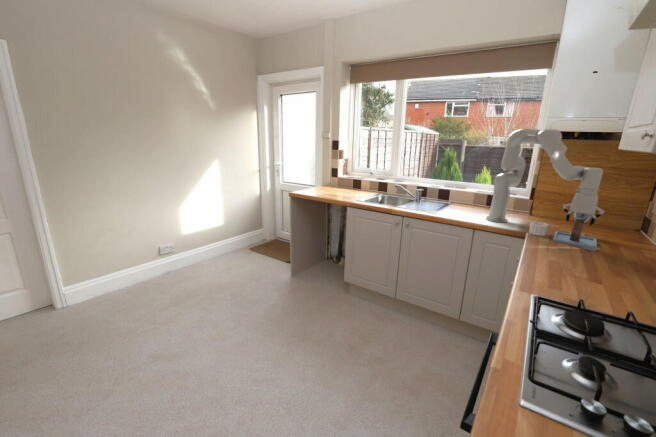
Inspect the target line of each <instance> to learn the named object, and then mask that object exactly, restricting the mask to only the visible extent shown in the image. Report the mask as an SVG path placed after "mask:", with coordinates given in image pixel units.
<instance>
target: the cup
mask: <svg viewBox="0 0 656 437" xmlns="http://www.w3.org/2000/svg"><path fill="white" fill-rule="evenodd" d="M548 227H549V224H548V223H545V222H543V221H531V222H530V224H529V229H528V233H529V234H531V235H535V236H539V237H544V236H546V235H547V230H548Z"/></svg>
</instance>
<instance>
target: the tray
mask: <svg viewBox="0 0 656 437" xmlns="http://www.w3.org/2000/svg"><path fill="white" fill-rule="evenodd" d="M570 236H571V234H570V232H569V233H567V232H562V231H557V230H556V231H555V232H554V235H553V238H552V241H553V242H557V243H562V244H566V245H571V247H572V248H579V249H581V250H587V251H592V252H597V248H598V245H597V238H595V237H589V236H580V239H579V242H576V241H571V240H570Z"/></svg>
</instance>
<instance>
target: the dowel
mask: <svg viewBox="0 0 656 437" xmlns="http://www.w3.org/2000/svg"><path fill="white" fill-rule="evenodd" d="M584 221H585V220H584V219H581V218H574V222H573V226H572V229H571V236H570V240H571V241H576V242H579V239H580V236H581V234H582V232H583V228H584V224H585V223H584Z"/></svg>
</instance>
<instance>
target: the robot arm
mask: <svg viewBox="0 0 656 437" xmlns="http://www.w3.org/2000/svg"><path fill="white" fill-rule="evenodd" d="M562 139H563V134H562V132H561V131H560V130H558V129H553V128H547V129H535V128H532V129H531V128H520V129H516V130H514V131H512V132H511V133H510V134H509V136H508V138H507V140H506V145H505V150H504V152H503V155H502V160H501V163H500V167H501V170H503V172H502V173H501V172H500V173H499V174H497V175H496V176H495V178H494V179H493V193H492V200H491V204H490V210H489V211H488V213H487V214H489V215H487V216H486V217H485V218H486V220H487V221H491V222H494V223H507V222H508V219H507V218H506V217H507V216H506V215H507V213H508V212H507V211H508V207H509V206H508V205H509V201H510V196H511V191H510V188H514V187H517V186H519V185H520V183H521V182H522V178H523V175H524V173H525V172H524V171H525V169H526V160H525V158H524V157H523V156H520V154H521V150H522V146H521V145H522V144H533V145H534V144H536V145H540V146H541V148H542V149H543V150H544V151H545V152H546V154H547V155H548V156H549V158H550V162H551V165H552V168H553V169H554V170H555V172H556V174H558V176H559V177H560V178H562V179H563V180H566V181H577V180H580V184H579V187H578V188H577V187H576V188H575V189H574V191H575V192H576V193H575V194H574V196H573V199H572V201H571V202H570V203H565V204H562V209H563V212H565V214H566V217H565V220H566V222H567V223H568V222H569V221H570V218H571V213H574V212H576V213H582V214H589V215H591V217H590V221H589V226H590V227H592V225H594V224H595V221H596V219H597V218H599V217H601V216H602V215H603V214H604V213H605V210H603V209H602V208H600V207H599V206H598V202H599V195H598V191H599V187H600V184H601V180H602V178H603V174H604V170H603V169H602V168H600V167H591V166H590V167H588V166H585V165H584V166H583V165H573V164H572V163H571V161H569V160H568V158H567V156H566V152H567V151H568V147H567V146H566V145H565V143H563V141H562ZM504 171H505V172H504ZM567 207H570V208H569V209H567ZM596 211H598V213H597V214H596Z"/></svg>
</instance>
